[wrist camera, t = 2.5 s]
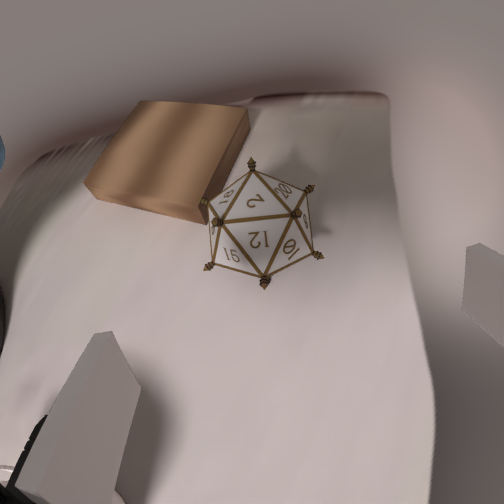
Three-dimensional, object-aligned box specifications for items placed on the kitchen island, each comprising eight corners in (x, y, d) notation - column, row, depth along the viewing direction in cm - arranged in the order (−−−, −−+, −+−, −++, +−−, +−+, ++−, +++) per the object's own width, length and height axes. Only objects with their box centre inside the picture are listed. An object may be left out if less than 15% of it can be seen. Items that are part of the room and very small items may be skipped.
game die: (256, 251, 30) (242, 144, 26) (340, 270, 25) (338, 146, 21) (187, 302, 24) (156, 174, 20) (282, 340, 19) (266, 179, 15)
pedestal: (96, 199, 31) (83, 182, 28) (148, 118, 35) (140, 100, 32) (206, 225, 28) (197, 206, 25) (250, 129, 32) (247, 108, 29)
